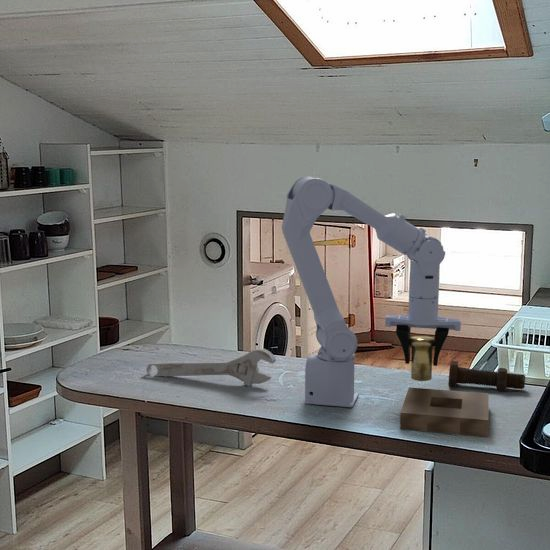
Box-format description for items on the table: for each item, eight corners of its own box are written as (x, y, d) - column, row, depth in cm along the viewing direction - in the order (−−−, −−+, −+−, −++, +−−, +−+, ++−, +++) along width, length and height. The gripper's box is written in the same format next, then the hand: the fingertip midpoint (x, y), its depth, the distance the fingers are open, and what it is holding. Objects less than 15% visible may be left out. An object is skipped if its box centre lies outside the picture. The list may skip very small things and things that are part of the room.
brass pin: (407, 380, 156) (408, 341, 154) (409, 373, 160) (410, 335, 159) (433, 382, 154) (434, 342, 153) (435, 375, 159) (435, 336, 158)
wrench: (152, 386, 175) (278, 385, 164) (148, 388, 173) (275, 388, 162) (147, 351, 174) (274, 347, 163) (143, 353, 172) (271, 349, 161)
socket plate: (400, 428, 140) (400, 412, 140) (408, 402, 154) (408, 387, 154) (487, 436, 136) (488, 420, 136) (487, 408, 150) (488, 393, 150)
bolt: (523, 401, 161) (448, 392, 165) (523, 382, 164) (450, 375, 168) (525, 381, 157) (448, 373, 161) (526, 363, 161) (451, 355, 165)
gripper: (462, 294, 157) (459, 360, 159) (389, 290, 160) (387, 355, 163) (461, 301, 150) (458, 370, 152) (384, 297, 154) (382, 364, 156)
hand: (421, 363), depth 157 cm, fingers closed on brass pin, 5 cm apart
